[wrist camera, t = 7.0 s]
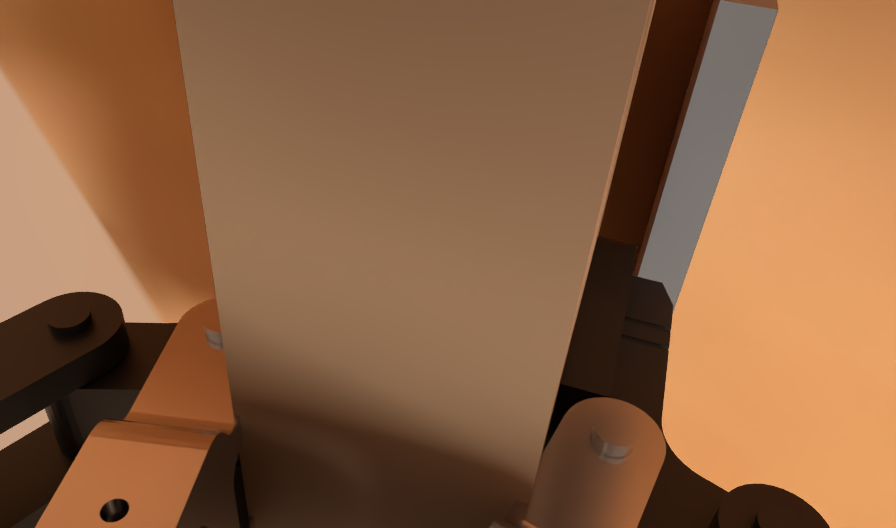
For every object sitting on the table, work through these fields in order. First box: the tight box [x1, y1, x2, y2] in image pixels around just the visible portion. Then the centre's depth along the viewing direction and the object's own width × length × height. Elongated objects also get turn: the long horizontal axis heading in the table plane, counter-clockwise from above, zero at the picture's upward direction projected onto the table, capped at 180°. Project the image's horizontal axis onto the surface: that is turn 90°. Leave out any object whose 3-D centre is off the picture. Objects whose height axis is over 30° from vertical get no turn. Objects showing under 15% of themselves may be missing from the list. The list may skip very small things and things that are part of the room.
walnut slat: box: [172, 0, 656, 528], centre depth 12 cm, size 14×3×7 cm, turn 176°
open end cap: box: [633, 0, 778, 311], centre depth 15 cm, size 10×7×2 cm
